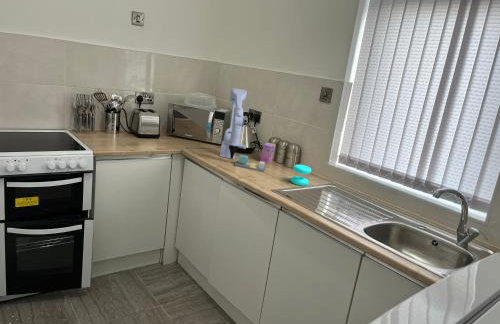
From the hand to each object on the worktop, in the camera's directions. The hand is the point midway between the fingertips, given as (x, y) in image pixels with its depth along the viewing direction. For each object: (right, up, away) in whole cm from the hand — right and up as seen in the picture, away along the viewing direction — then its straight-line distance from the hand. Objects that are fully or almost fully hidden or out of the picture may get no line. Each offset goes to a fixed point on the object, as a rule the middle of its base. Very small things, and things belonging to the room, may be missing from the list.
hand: (231, 158), depth 232 cm
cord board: (+11, -5, 0) cm, 12 cm away
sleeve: (+7, -3, 0) cm, 7 cm away
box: (+22, -2, +22) cm, 31 cm away
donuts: (+39, -15, -17) cm, 45 cm away
